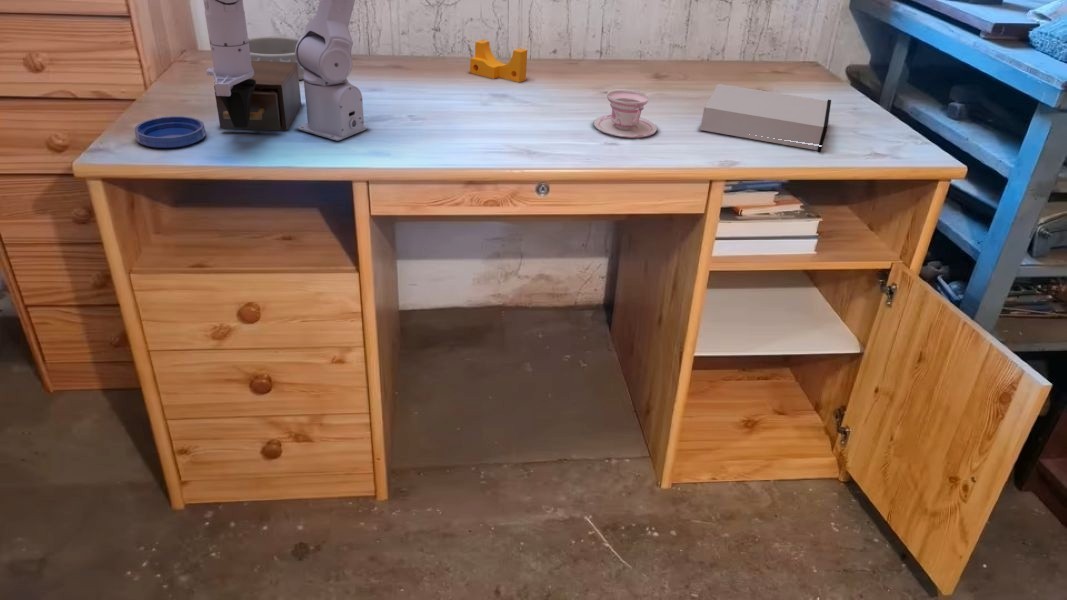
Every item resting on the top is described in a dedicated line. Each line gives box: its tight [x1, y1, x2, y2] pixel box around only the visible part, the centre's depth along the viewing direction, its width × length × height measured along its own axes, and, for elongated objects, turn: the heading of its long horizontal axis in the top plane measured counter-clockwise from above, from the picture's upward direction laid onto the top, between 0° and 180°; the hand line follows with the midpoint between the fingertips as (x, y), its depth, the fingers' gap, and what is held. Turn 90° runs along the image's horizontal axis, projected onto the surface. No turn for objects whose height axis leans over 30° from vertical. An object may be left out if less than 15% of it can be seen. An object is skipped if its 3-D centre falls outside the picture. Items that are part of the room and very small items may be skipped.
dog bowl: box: [248, 35, 304, 81], centre depth 166 cm, size 17×18×5 cm
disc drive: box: [699, 83, 832, 153], centre depth 152 cm, size 18×22×5 cm
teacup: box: [593, 88, 658, 138], centre depth 147 cm, size 12×12×6 cm
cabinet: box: [249, 61, 302, 131], centre depth 140 cm, size 14×11×8 cm
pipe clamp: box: [469, 39, 528, 83], centre depth 171 cm, size 12×4×6 cm, turn 58°
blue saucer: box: [134, 115, 207, 149], centre depth 130 cm, size 11×11×2 cm
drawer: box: [214, 89, 281, 131], centre depth 136 cm, size 17×10×6 cm, turn 4°
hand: (241, 126), depth 129 cm, fingers closed
